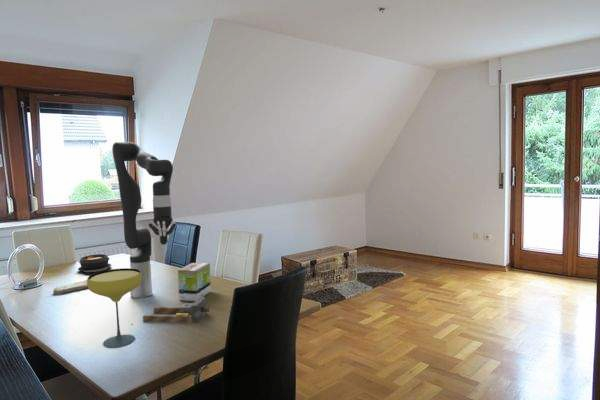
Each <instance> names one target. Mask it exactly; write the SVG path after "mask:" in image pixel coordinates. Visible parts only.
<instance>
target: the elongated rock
mask: <svg viewBox="0 0 600 400" xmlns="http://www.w3.org/2000/svg"><path fill="white" fill-rule="evenodd" d="M81 290H83V291H84V290H89V289H88V286H87V279H85V280H82V281H78V282H77V281H76V282H74V283H69V284H64V285H61V286H57V287H54V288H53V291H52V293H53V295H56V296H61V295H63V294H68V293H75V292H79V291H81Z"/></svg>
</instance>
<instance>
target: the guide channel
mask: <svg viewBox="0 0 600 400" xmlns="http://www.w3.org/2000/svg"><path fill="white" fill-rule="evenodd" d="M192 303H193V304H192V305H191V315H189V313H180V307H181V306H154V307H152V308H153V309H152V310H153V314H143V316H142V322H143V323H181V324H182V323H185V324H186V323H189V324H191V323H192V324H193V323H194V324H199V322H200V321H201V320H202V319H203V318H204V317H205V315H206V314H207V313H209V312H210V307H209V306H207V297H206V296H203V297H199V298H198V299H197V300H196V301H193V302H192Z"/></svg>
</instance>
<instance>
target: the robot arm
mask: <svg viewBox="0 0 600 400" xmlns="http://www.w3.org/2000/svg"><path fill="white" fill-rule="evenodd" d="M111 150H112V158H113V163H114V166H115V170H116V176H117V181H118V188H119V189H118V190H119V196H120V204H121V208H122V217H123V234H124V235H123V236H124V242H125V244H126V246H127V247H128V248H129V249H131V250H134V249H135V252H133V253H132V254H131V255H130V256H129V262H130V263H129V266H130V267H129V268H130V269H137V270H139V271H140V272H141V275H142V280H141V283H140V284H139V285H138V286H137V287H136V288H135V289H133V290H132V291H130V292H129V293H130V297H131V298H135V299H141V298H146V297H147V298H148V297H151V296H152V295H153V283H152V282H153V281H152V265H151V256H152V234H151V232H150V230H149V229H148V228H147V227H137V215H138V212H139V211H140V207H141V204H142V194H141V188H140V186H139V184H138V183H137V181H136V180H135V179H134V178H133V176H131V174H130V173H129V171H128V170H127V167H126V164H125V162H133V161H136V164H137V165H138V166H139V167H140V168H142V169H144V170H145V171H146V172H147V173H148V175H149V176H152V177H161V178H160V179H159V180H158V181H155V182H153V183H152V208H153V209H152V210H153V218H152V222H150V223H149V224H148V227H150V229H151V230H152V232H153V233H154V234H155V235H156V236H159V243H160V245H167V243H168V242H169V239H168V235H169V236H170V235H171V234H172V233H173V232H174V230H175V229H176V228H177V226H178V223H177V222H175V221H174V220H173V218H172V199H171V190H170V185H171V180H172V175H173V171H174V167H173V166H174V165H173V163H172V161H170V160H169V159H158V158H157V157H156V156H154V155H152V154H150V153H148V152H146V151H145V150H144V149H143V148H141V147H140V146H139V145H138V144H136V143H135V142H132V141H118V142H114V143H113V144H112V148H111Z"/></svg>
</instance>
